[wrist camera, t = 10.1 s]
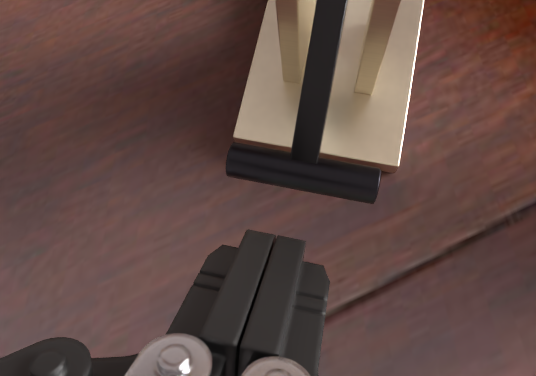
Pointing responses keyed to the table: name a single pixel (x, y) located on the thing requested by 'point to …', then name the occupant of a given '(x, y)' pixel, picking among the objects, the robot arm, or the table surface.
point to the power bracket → (335, 80)
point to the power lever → (310, 128)
